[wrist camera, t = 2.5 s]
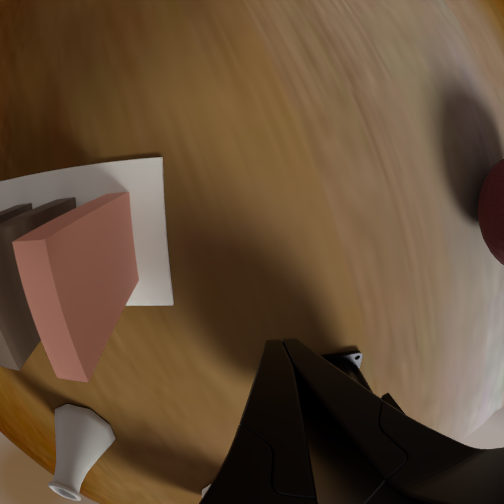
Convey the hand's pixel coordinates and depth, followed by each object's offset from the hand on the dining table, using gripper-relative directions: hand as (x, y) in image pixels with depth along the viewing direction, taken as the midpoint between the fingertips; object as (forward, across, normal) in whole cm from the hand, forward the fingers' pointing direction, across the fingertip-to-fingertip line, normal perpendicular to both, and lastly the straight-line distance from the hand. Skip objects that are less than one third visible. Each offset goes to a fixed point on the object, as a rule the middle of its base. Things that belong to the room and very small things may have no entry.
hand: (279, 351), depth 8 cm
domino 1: (+12, +12, 0) cm, 17 cm away
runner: (+12, +16, 0) cm, 20 cm away
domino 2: (+12, +8, 0) cm, 14 cm away
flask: (+12, +18, +21) cm, 30 cm away
